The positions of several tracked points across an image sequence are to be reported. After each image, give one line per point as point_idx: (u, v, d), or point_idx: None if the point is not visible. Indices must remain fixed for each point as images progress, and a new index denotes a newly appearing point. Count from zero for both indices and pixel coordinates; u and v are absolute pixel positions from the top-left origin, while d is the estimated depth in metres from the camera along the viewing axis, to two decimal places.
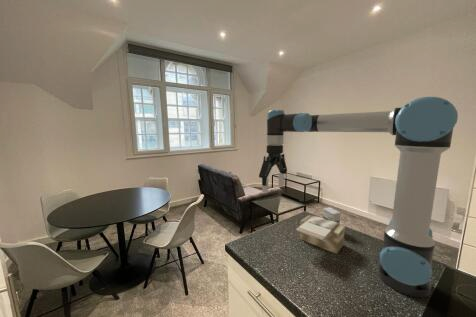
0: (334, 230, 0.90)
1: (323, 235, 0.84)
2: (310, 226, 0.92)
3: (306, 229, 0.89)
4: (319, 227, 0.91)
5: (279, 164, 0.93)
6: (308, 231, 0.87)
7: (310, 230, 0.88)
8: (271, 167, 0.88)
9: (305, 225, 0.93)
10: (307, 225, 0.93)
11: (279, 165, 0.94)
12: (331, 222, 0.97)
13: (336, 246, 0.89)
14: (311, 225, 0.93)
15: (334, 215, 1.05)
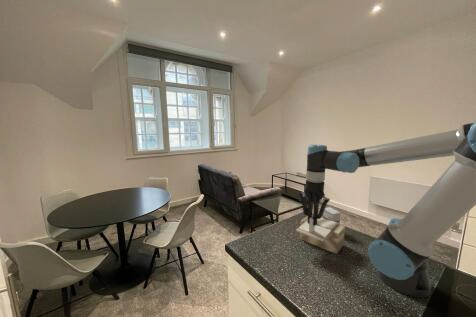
0: (334, 230, 0.90)
1: (323, 236, 0.84)
2: None
3: (306, 230, 0.89)
4: (319, 227, 0.91)
5: None
6: (308, 232, 0.87)
7: None
8: (309, 204, 0.86)
9: (305, 225, 0.93)
10: (307, 225, 0.93)
11: None
12: (331, 222, 0.97)
13: (336, 246, 0.89)
14: None
15: (334, 215, 1.05)
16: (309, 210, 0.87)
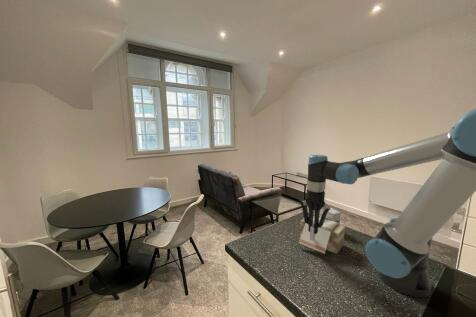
0: (334, 230, 0.90)
1: (324, 246, 0.87)
2: None
3: (307, 240, 0.92)
4: (319, 230, 0.91)
5: None
6: (309, 243, 0.90)
7: (311, 240, 0.91)
8: (310, 213, 0.88)
9: (305, 231, 0.94)
10: (307, 231, 0.94)
11: None
12: (331, 222, 0.97)
13: (336, 246, 0.89)
14: None
15: (334, 215, 1.05)
16: (310, 219, 0.88)
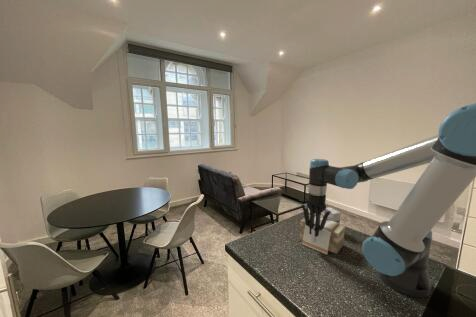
0: (334, 230, 0.90)
1: (326, 247, 0.89)
2: None
3: (309, 241, 0.94)
4: (319, 231, 0.92)
5: None
6: (312, 245, 0.93)
7: None
8: (311, 216, 0.90)
9: (307, 233, 0.96)
10: (308, 232, 0.95)
11: None
12: (331, 222, 0.97)
13: (336, 246, 0.89)
14: None
15: (334, 215, 1.05)
16: (311, 221, 0.90)
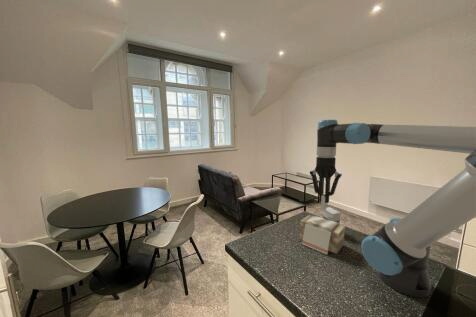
0: (334, 230, 0.90)
1: (326, 247, 0.89)
2: (311, 233, 0.94)
3: (309, 241, 0.94)
4: (319, 231, 0.92)
5: None
6: (312, 245, 0.93)
7: (313, 242, 0.93)
8: (321, 181, 0.85)
9: (307, 233, 0.96)
10: (308, 232, 0.95)
11: None
12: (331, 222, 0.97)
13: (336, 246, 0.89)
14: (312, 229, 0.94)
15: (334, 215, 1.05)
16: (321, 187, 0.85)
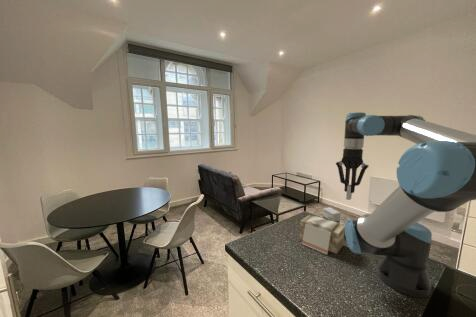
0: (334, 230, 0.90)
1: (326, 247, 0.89)
2: (311, 233, 0.94)
3: (309, 241, 0.94)
4: (319, 231, 0.92)
5: None
6: (312, 245, 0.93)
7: (313, 242, 0.93)
8: (347, 172, 0.88)
9: (307, 233, 0.96)
10: (308, 232, 0.95)
11: None
12: (331, 222, 0.97)
13: (336, 246, 0.89)
14: (312, 229, 0.94)
15: (334, 215, 1.05)
16: (347, 178, 0.89)
